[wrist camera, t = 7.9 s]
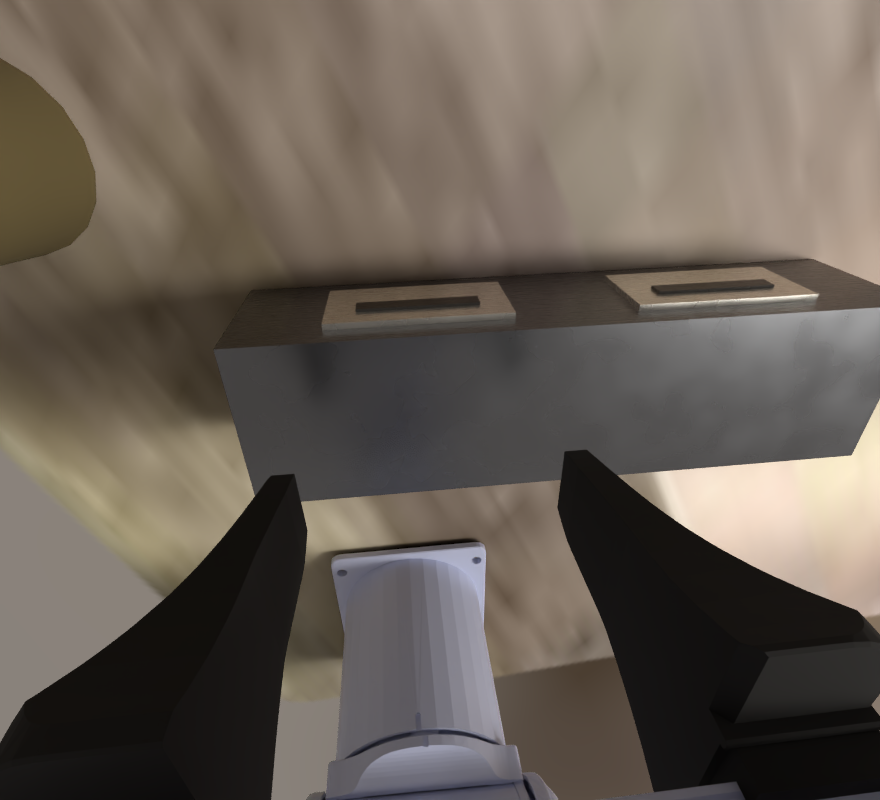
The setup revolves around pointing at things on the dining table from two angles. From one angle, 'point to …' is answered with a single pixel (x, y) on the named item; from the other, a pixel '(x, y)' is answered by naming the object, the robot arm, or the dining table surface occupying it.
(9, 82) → the cork
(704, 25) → the dining table surface
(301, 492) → the dark gray slotted box
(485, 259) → the dining table surface
